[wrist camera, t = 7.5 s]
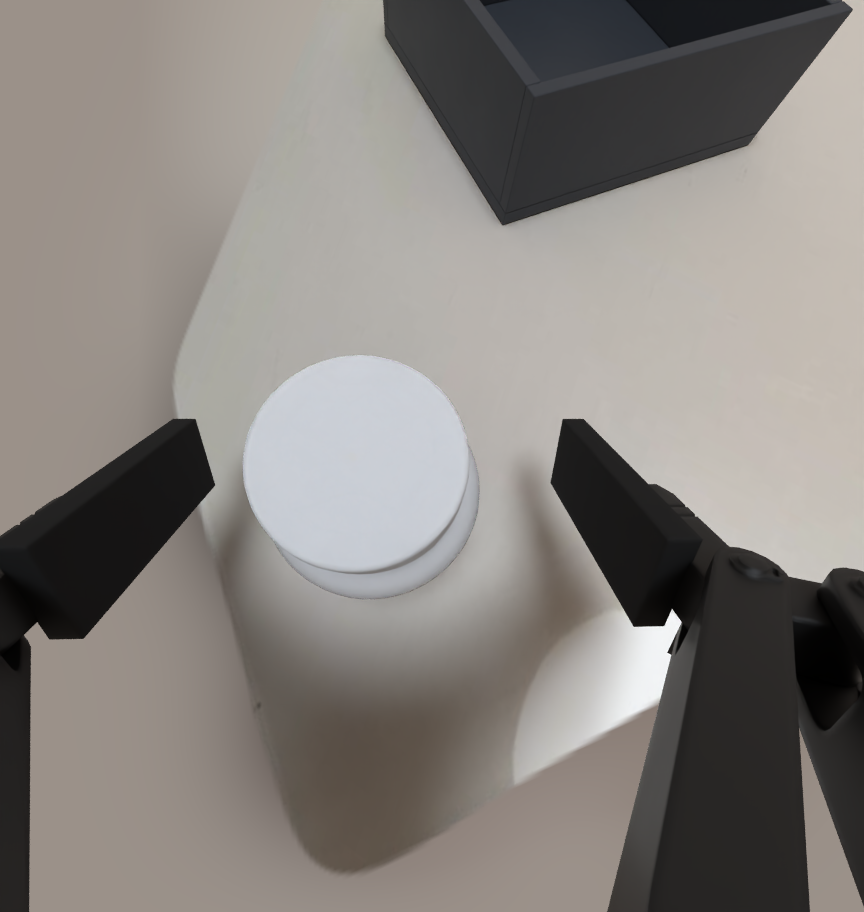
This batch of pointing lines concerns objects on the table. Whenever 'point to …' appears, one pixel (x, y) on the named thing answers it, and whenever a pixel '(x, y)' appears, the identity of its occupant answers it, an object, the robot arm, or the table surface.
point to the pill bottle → (362, 476)
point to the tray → (600, 84)
